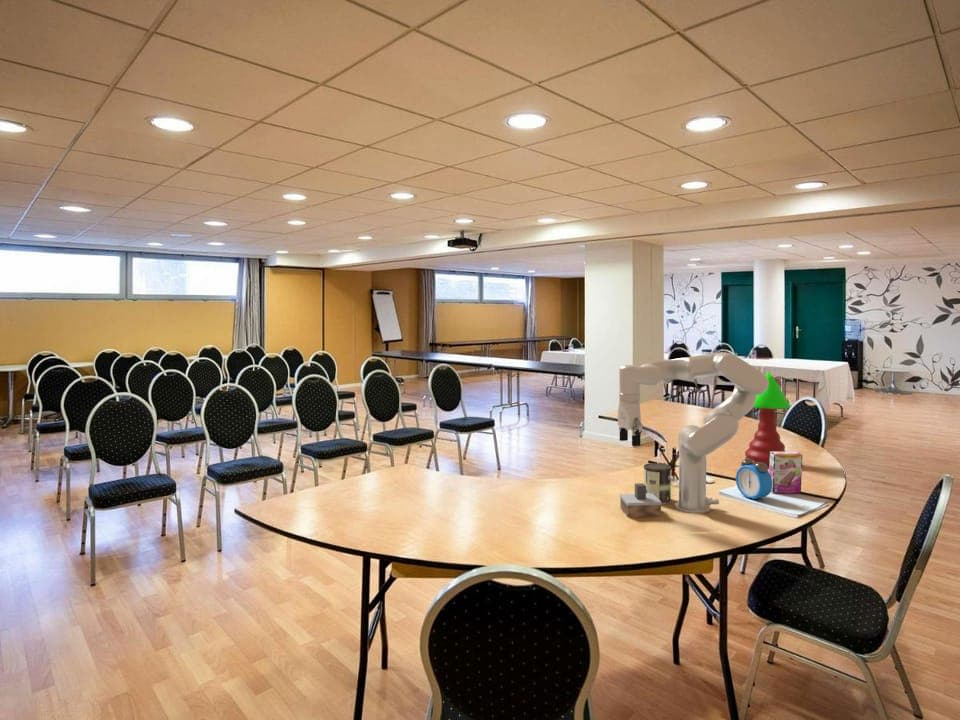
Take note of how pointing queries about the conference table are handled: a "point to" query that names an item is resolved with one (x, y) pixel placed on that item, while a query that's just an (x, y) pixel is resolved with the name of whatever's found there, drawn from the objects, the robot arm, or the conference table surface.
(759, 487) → the alarm clock
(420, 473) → the conference table surface
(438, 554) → the conference table surface
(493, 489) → the conference table surface
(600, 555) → the conference table surface
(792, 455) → the candy bar box
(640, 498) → the lid
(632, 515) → the box
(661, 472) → the coffee can
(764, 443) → the table lamp
